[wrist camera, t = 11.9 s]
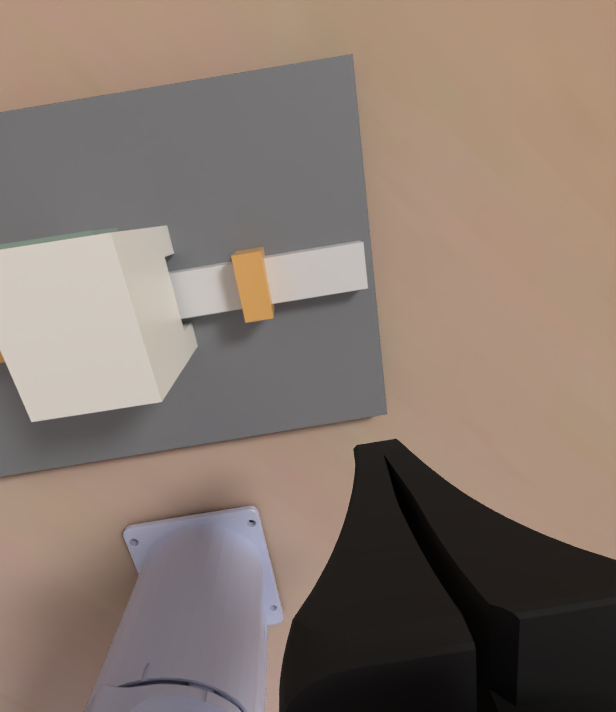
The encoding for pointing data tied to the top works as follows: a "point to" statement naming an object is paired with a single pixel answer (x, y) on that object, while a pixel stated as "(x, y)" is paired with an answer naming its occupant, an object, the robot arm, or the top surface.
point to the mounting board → (212, 251)
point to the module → (91, 321)
